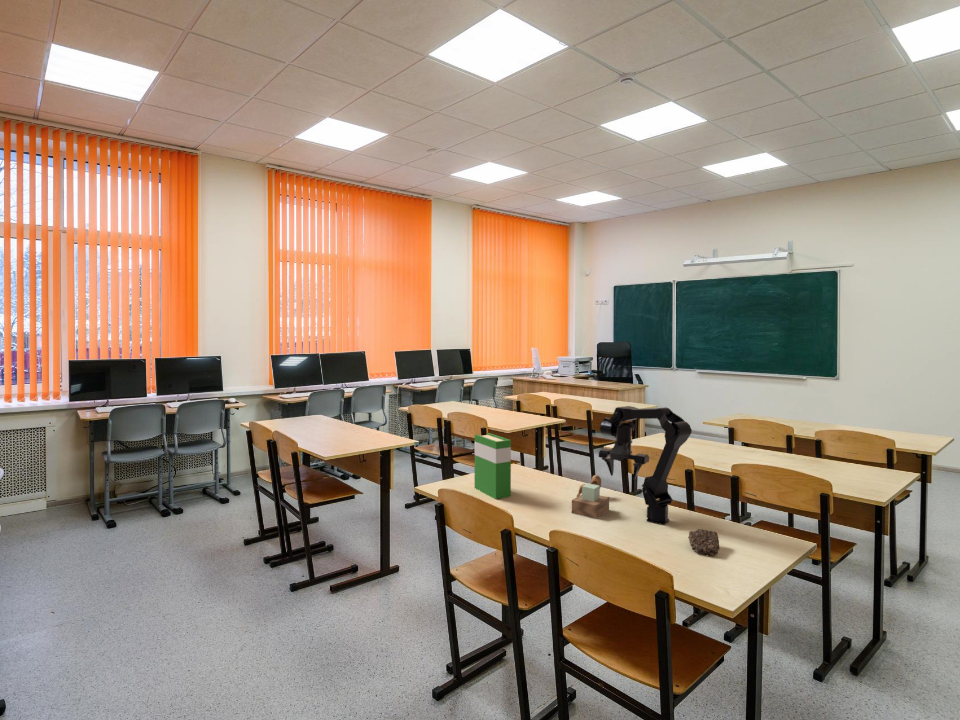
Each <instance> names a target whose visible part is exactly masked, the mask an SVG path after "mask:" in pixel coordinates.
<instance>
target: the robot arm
mask: <svg viewBox="0 0 960 720" xmlns="http://www.w3.org/2000/svg"><path fill="white" fill-rule="evenodd" d="M639 419H643V420H644V419H645V420H646V419H648V420H649V419H653V420H654V419H655V420H656V419H657V420H658V422H659V424H660V427H661V428H662V429H663V431H664V440H665V444H664V446H663V449H662V451H661V454H660V456H659V459H658V462H657V464H656V466H655V469H654V471H653V475H650V476H645V478H644V480H643V483H642V484H641V487H642V489H641V493H642V496H643V499H644V502H645V503H644V504H645V506H647V507H646V518H647V519H646V522H650V523H655V524H659V525H666V523H668V522H669V521H670V518H669V505H671V504H672V501H673V498H672V496H671V495H670V493H669V492H668V481H667V479H668V477H669V474H670V472H671V469H672V467H673V464H674V462H675V459H676V458H677V454H678V452H679V449H680V448H681V446H682V445H684V444H685V443H686V442H687V441H688V439H689V438H690V436H691V435H692V431H693V430H692V428H691V425H690V424H689V423H688V422H687V421H686V420H685V419H684V418H682V417H681V416H680V415H678V414H677V413H675V412H673V411H672V410H671V409H670V408H668V407H667V406H666V407H659V408H658V407H655V408H654V407H653V408H638V407H635V406H631V405H630V406H629V405H626V406H618V407H615V408H614V412H613V414H612V415H611V417H603V421H602V422H601V424H600V426H599V430H600V433H601V434H603V435H606V436H612V437H615V441H614V445H613V447H612V448H607V447H606V448H605V447H604V448H601V449H600V450H599V451H598V458H601V460H602V461H604V462H605V463H606V465H607V468H608V470H609V474H610V476H614V466H615V465H614V464H615V461H618V462H621V461H623V460H624V459H625V460H632V461H634V462H633V474H632V475H633V476H632V479H633V481H634V480H636V478H637V476H638V473H639V472H640V469H641V468H642V466H643V465H645V464H647V463H649V462H650V456H649V455H648V453H647V454H646V453H640V452H638V453H637V454H633V450H632V444H633V439H632V429H636V428H637V426H636V425H635V424H634V423H633V421H634V420H639Z"/></svg>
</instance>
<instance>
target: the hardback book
mask: <svg viewBox="0 0 960 720" xmlns="http://www.w3.org/2000/svg"><path fill="white" fill-rule="evenodd" d="M511 473H512V440H511V439H508V438H506V437H502V436H499V435H496V434H493V433H490V432H487V434H485V435H480V434H474V489H475V488H476V491H477V490H478V491H479V490H480V491H479V492H481V493H482V494H485V495H486V496H489V497H490V498H492V499H494V500H500V499H505V498H504V497H506V498H510V497H509V496H511V495H512V492H511V491H512V490H511V489H512V488H511V487H512V485H511V484H512V483H511V481H512V480H511V479H512V474H511ZM499 498H500V499H499Z"/></svg>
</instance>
